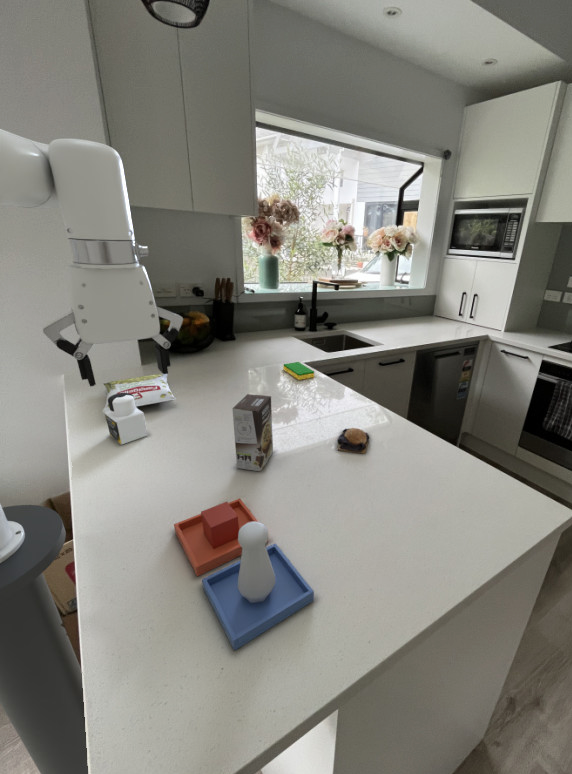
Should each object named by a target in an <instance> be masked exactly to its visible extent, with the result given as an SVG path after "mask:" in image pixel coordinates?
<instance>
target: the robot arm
mask: <svg viewBox="0 0 572 774" xmlns="http://www.w3.org/2000/svg"><path fill="white" fill-rule="evenodd" d="M126 182H127V181H126V176H125V170H124V164H123V161H122V157H121V156H120V154H119V152H118V151H117V150H116V149H114V148H113V147H112V146H109V145H108V144H105V143H101V142H97V141H93V140H87V139H80V138H65V137H64V138H57V139H52V140H51V141H50V143H49V144H48V143H45V142H44V143H42V142H39V141H35V140H32V139H30V138H27V137H23V136H21V135H18V134H15V133H13V132H11V131H7V130H5V129H2V128H0V206H1V207H2V206H4V207H17V208H23V209H24V208H26V209H37V210H38V209H40V210H49V209H51V210H52V209H60V213H61V217H62V222H63V225H64V229H65V234H66V238H67V244H68V248H69V252H70V256H71V260H72V264H67V265H66V285H67V292H68V298H69V303H70V304H69V305H70V309H71V310H70V311H68V312H66V313H64V314H63V315H61V316H59V317H57V318H56V319H54V320H52V321H51V322H48V323H47V324H45V325H43V327H42V332H43V334H44V336H46V337H47V338H48V339H49V340H50V341H51V342H52V343H53V344H54V345H55V346H56V347H57V349H59V350H61V351H63V352H64V353H66V354H67V355H69V356H72V357H73V358H74V359H75V360H76V363H77V367H78V371H79V374H80V378H81V380H82V381H84V380H85V381H86V380H87V383H88V385H89V387H95V386H96V385H97V384H96V379H95V374H94V370H93V367H92V362H91V358H90V357H89V355H88V353H89V351H90V350H91V349H92V347H93V345H100V344H102V345H103V344H110V343H111V344H112V343H120V342H128V341H136V340H146V339H152V340H154V341H155V343H156V344H155V345H154V351H155V357H156V358H155V359H156V363H157V364H156V365H157V369H158V371H160V372H161V374H168V375H169V369H168V367H169V368H170V367H171V358H170V351H169V349H170V348H171V345H172V343H173V342H174V340H175V339H176V338H177V337H178V336H179V332H180V329H181V327H182V325H183V322H184V318H183V316H181V315H180V314H177V313H174V312H173V311H170V310H167V309H164V308H162V307H159V306H157V303H156V300H155V296H154V292H153V289H152V285H151V281H150V278H149V275H148V273H147V270H146V267H145V265H143V264H140V262H141V261H140V260H141V258H143V257H149V255H150V253H149V252H150V251H149V247H148V246H147V245H142V244H139V243H137V240H135V232H134V227H133V219H132V213H131V207H130V202H129V194H128V189H127V183H126ZM160 318H162V319H164V320H167V321H169V327H168V328H167V329H166V330H165V331H164V332H163V334H161V333H160V332H161V323H160ZM71 325H74V328H75V331H76V334H77V335H78V336H79V338H78V339H77V340H76V342H75V343H73V342H72V341H69V340H67V339H66V338H65V337H64V336H63V335H61V332H62V331H63V330H64V329H67V328H68V327H70V326H71ZM2 508H3V506H2V505H1V503H0V563H2V562H3V561H5V560H6V559H8V558H9V557H10V556H11V555H12V554H14V553H15V552H16V551H17V550H18V548H19V547H20V546H21V544H22V543H23V541H24V539H25V532H24V529H23V527H22V526H21V525H20V524H18V523H16V522H13V521H7V519H6V516H5V514H4V511H3V509H2Z"/></svg>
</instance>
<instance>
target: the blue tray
mask: <svg viewBox="0 0 572 774" xmlns="http://www.w3.org/2000/svg"><path fill="white" fill-rule="evenodd" d="M265 547H266V550H267V553H268V556H269V559H270V562H271V565H272V568H273V571H274V574H275V585H274V587H273V589H272V591H271V592H270V594H269V595H268V596H267V597H266V599H265V600H264V601H263V602H256V603H251V602H250V601H248V600H247V599H246V598H245V597H244V596H242V595H241V593H240V591H239V590H238V576H239V570H240V564H241V559H240V560H238V561H236V562H233V563H232V564H230V565H228V566H226V567H224V568H222V569H220V570H218V571H216V572H214V573H212V574H209V575H207V576H206V577H204V578H202V579H201V583H202V589H203V591H204V593H205V596H206V597H207V599H208V601H209V603H210V605H211V607H212V609H213V611H214V613H215V615H216V617H217V619H218V621H219V623H220V625H221V627H222V629H223V631H224V633H225V635H226V637H227V639H228V641H229V643H230V645H231V647H232V649H233V651H236V650H238V649H240V648H241V647H244V645H246V644H248V643H249V642H251V641H252V640H254V639H255V638H257V637H258V636H259V635H262V634H263V633H265V632H266V631H268V630H270V629H271V628H273V627H274V626H276V625H277V624H280V622H283V621H284V620H285V619H287V618H288V617H290V616H292V615H293V614H295V613H296V612H298V611H300V610H302V609H303V608H305V607H306V606H308V605H309V604H311V603H312V602H314V601H315V599H314V597H315V591H314V590H313V588H312V587H311V586H310V584H309V583H308V582H307V581H306V580H305V578H304V577H303V576H302V574H301V573H300V571H298V569H297V568H296V567H295V566H294V564H293V563H292V562H291V560H289V558H288V557H287V556H286V554H284V552H283V551H282V549H281V548H280V546H278V544H277V543H273V544H270V545H268V546H265Z"/></svg>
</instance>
